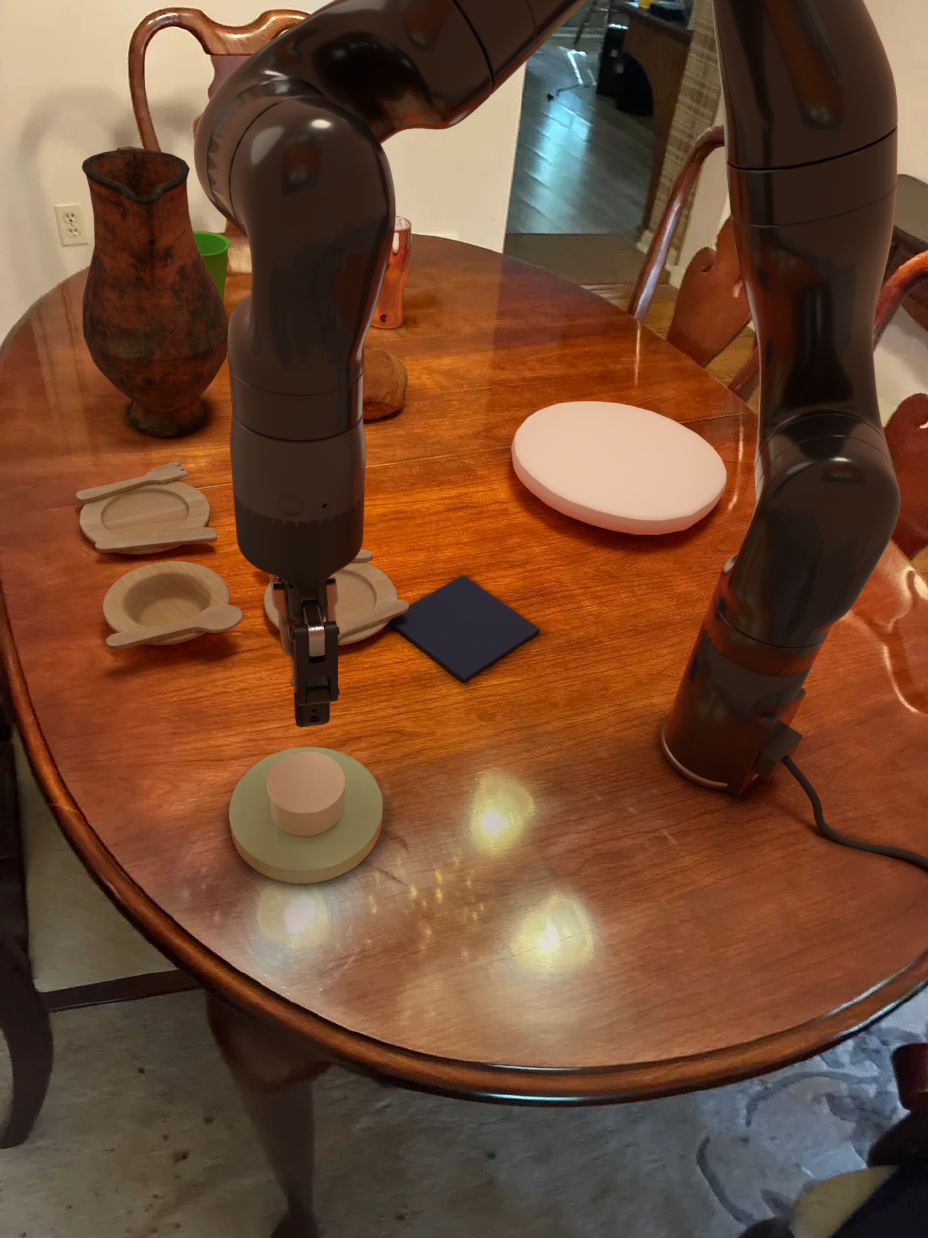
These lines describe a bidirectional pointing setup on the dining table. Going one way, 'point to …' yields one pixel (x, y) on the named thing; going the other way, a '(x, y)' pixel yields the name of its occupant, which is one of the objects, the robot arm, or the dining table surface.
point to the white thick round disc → (618, 467)
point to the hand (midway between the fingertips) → (303, 676)
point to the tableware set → (198, 568)
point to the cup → (214, 256)
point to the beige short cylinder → (306, 793)
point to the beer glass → (395, 279)
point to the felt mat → (463, 628)
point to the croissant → (382, 382)
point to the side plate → (305, 854)
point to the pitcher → (151, 292)
